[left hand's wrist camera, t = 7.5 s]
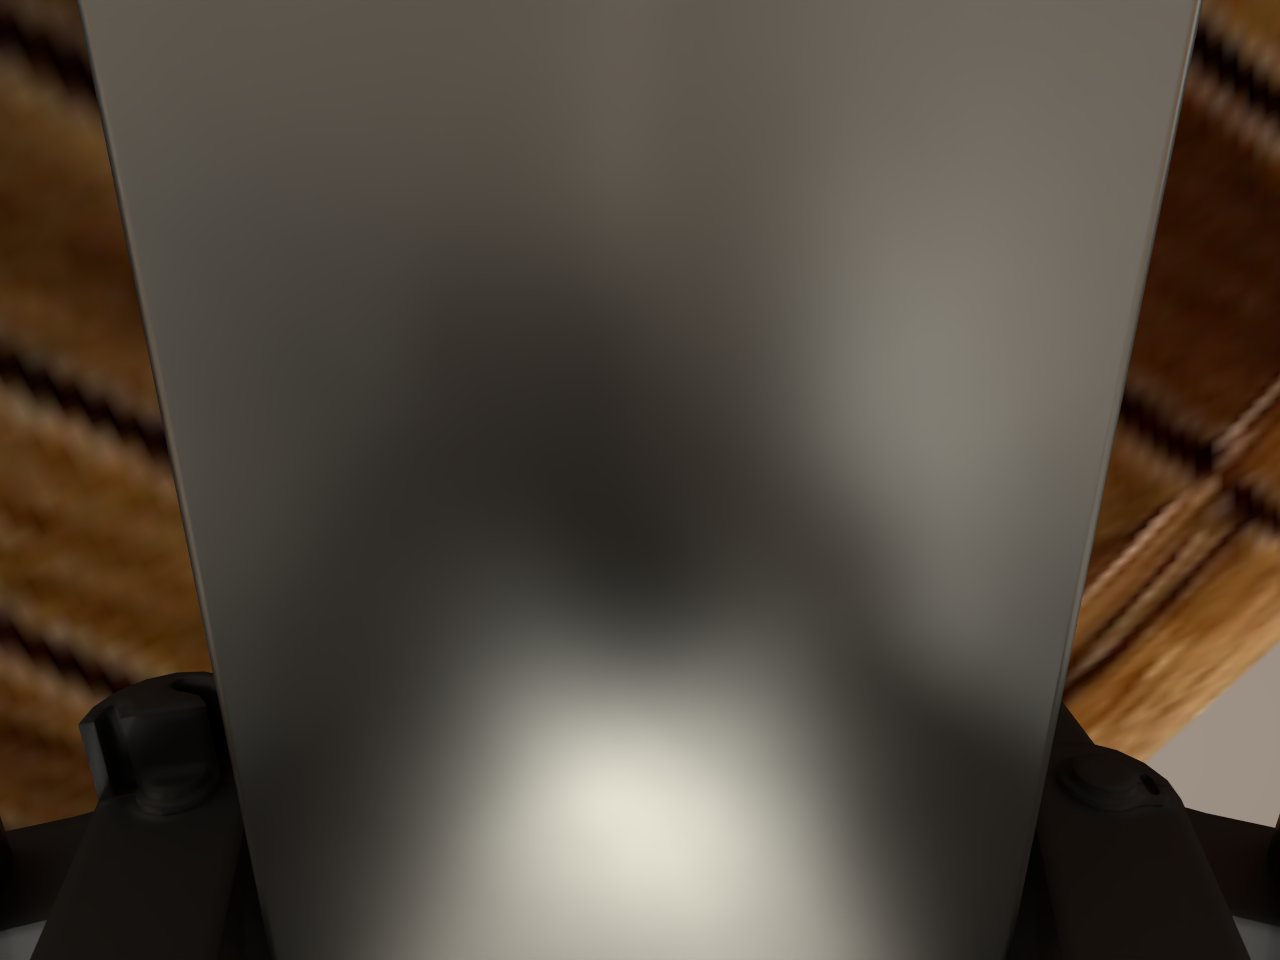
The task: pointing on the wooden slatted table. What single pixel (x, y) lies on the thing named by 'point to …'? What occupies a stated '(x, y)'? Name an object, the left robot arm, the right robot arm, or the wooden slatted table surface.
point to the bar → (639, 446)
